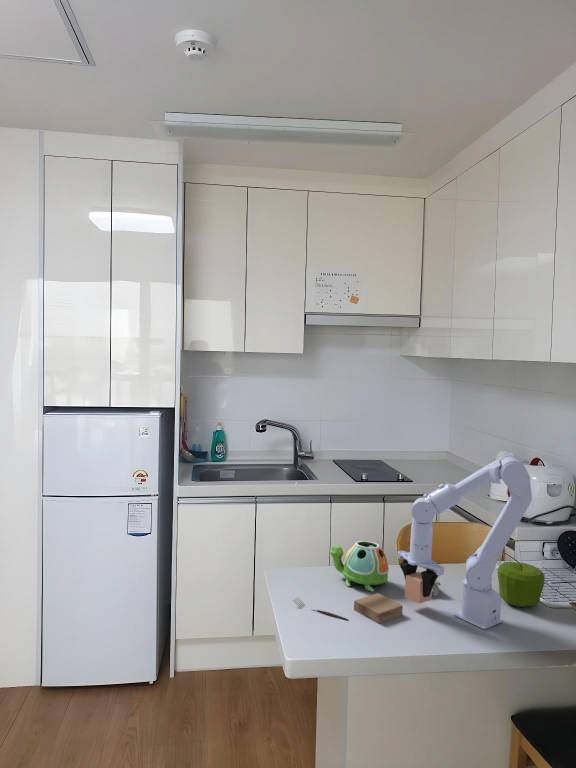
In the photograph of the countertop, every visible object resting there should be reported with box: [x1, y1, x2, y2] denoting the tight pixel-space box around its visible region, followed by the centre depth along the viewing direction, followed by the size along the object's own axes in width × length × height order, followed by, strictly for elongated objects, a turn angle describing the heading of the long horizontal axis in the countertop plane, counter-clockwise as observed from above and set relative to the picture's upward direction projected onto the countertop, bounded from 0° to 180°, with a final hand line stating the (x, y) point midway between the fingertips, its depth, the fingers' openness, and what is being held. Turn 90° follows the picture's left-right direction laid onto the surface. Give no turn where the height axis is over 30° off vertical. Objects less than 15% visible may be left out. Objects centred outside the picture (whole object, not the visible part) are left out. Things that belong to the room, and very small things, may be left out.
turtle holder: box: [329, 540, 390, 592], centre depth 175 cm, size 12×18×12 cm
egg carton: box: [432, 579, 442, 597], centre depth 172 cm, size 11×8×4 cm
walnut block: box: [353, 593, 404, 624], centre depth 155 cm, size 9×9×3 cm
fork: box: [292, 597, 349, 621], centre depth 154 cm, size 3×16×2 cm, turn 59°
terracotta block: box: [404, 571, 433, 605], centre depth 158 cm, size 5×5×6 cm
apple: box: [497, 561, 545, 608], centre depth 165 cm, size 12×12×11 cm
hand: (418, 592), depth 159 cm, fingers closed on terracotta block, 5 cm apart
